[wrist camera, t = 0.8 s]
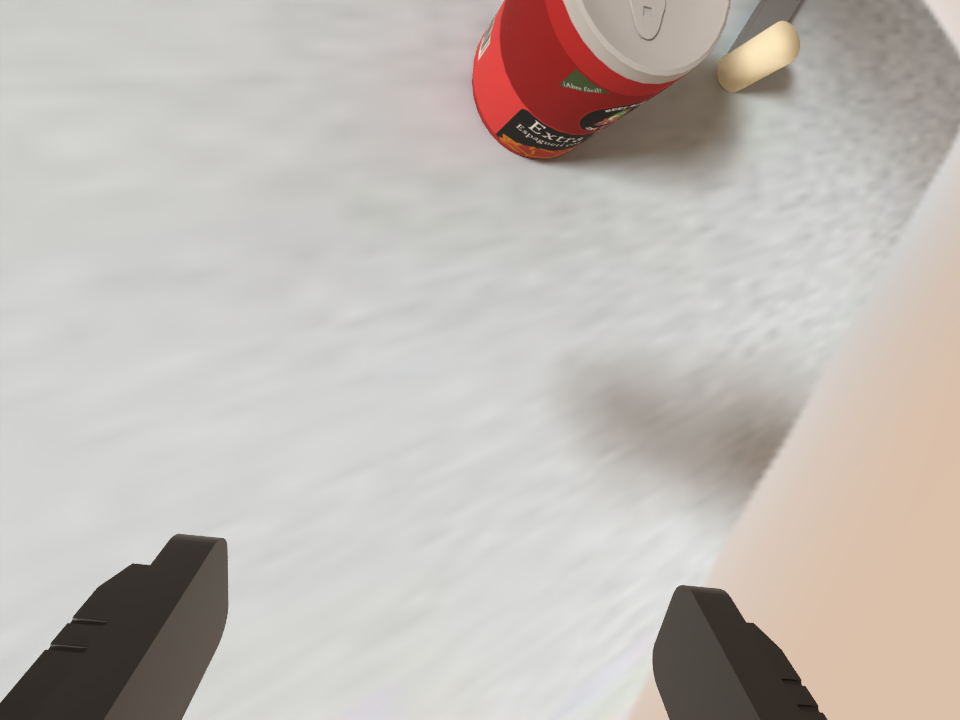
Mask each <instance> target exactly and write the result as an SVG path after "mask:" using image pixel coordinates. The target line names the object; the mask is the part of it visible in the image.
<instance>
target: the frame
mask: <svg viewBox="0 0 960 720" xmlns="http://www.w3.org/2000/svg"><path fill="white" fill-rule="evenodd" d="M800 1H801V0H761V2H760V3H759V5H758V6H757V8H756V9H755V11H754V13H753V14H752V16H751V17H750V19H749V20H748V22H747V24H746V25H745V27H744V28H743V30H742V32H741V33H740V35H739V36H738V38H737V39H736V41H735V43H734V44H733V46H732V47H731V49H730V50H729V52H728V54H727V55H725V56H724V57H722V58H721V60H720V61H719V63H718V66H717V77H718V81H719V83H720V85H721V86H722V87H723V88H724V89H725V90H726V91H728V92H731V93H735V92H738V91H740V90H741V89H743V88H745V87H747V86H749V85H751V84H752V83H754V82H756V81H758V80H760V79H762V78H764V77H765V76H767V75H769V74H771V73H773V72H775V71H776V70H778V69H780V68H782V67H784V66H786V65H788V64H789V63H791V62H793V61H794V60H795V59H796V58H797V56H798V53H799V49H800V41H799V36H798V34H797V31H796V30H795V28H794V27H793V26H792V25H791V24H790V23H788V21H789V19H790V17H791V16H792V14H793V12H794V11H795V9H796V8H797V6H798V4H799V3H800Z"/></svg>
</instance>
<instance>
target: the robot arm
mask: <svg viewBox="0 0 960 720" xmlns="http://www.w3.org/2000/svg"><path fill="white" fill-rule="evenodd" d="M227 613H228V555H227V542H226V540H225V539H224V538H215V537H205V536H195V535H185V534H176V535H175V536H173V537H172V538H171V539H170V540H169V541H168V543H167V544H166V545H165V547H164V548H163V549H162V551H161V552H160V553H159V555H158V556H157V557H156V559H155V560H154V561H153V562H152V564H151V565H142V564H131V565H130V566H128V567H127V568H125V569H124V570H122V571H121V572H120V573H118V574H117V575H115V576H114V577H112V578H111V579H109V580H108V581H106V582H105V583H103V584H102V585H101V586H99V587H98V588H97V589H96V590H95V591H94V593H93V594H92V595H91V596H90V597H89V599H88V600H87V601H86V602H85V603H84V604H83V606H82V607H81V608H80V609H79V610H78V612H77V613H76V614H75V615H74V616H73V619H72V622H71V623H67V625H66V626H65V627H64V628H63V629H62V631H61V632H60V633H59V634H58V635H57V636H56V638H55V639H54V640H53V641H52V642H51V646H50V648H49V649H48V650H45V651H44V652H43V653H42V654H41V655H40V657H39V658H38V659H37V660H36V661H35V663H34V664H33V665H32V666H31V667H30V668H29V670H28V671H27V672H26V673H25V674H24V676H23V677H22V678H21V679H20V680H19V681H18V683H17V684H16V685H15V686H14V687H13V689H12V690H11V691H10V692H9V693H8V695H7V696H6V697H5V698H4V699H3V700H2V702H1V703H0V720H182V718H183V716H184V714H185V712H186V710H187V708H188V706H189V704H190V702H191V700H192V698H193V696H194V694H195V692H196V690H197V688H198V686H199V684H200V682H201V679H202V677H203V675H204V673H205V671H206V669H207V667H208V665H209V663H210V661H211V659H212V657H213V655H214V653H215V651H216V649H217V647H218V645H219V642H220V640H221V637H222V634H223V631H224V628H225V624H226V619H227ZM653 672H654V677H655V681H656V684H657V687H658V690H659V693H660V695H661V698H662V700H663V703H664V706H665V708H666V711H667V714H668V717H669V719H670V720H827V718H826V717H825V715H824V714H823V713H820V712H819V710H818V705H817V703H816V702H815V700H814V699H813V697H812V696H811V694H810V692H809V691H808V689H807V688H806V686H802V684H801V679H800V677H799V676H798V674H797V673H796V671H795V670H794V668H793V667H792V665H791V664H790V662H789V661H788V659H787V657H786V656H785V654H784V653H783V651H782V650H781V649H780V648H779V647H778V646H777V645H776V644H775V643H774V642H773V641H772V640H771V639H770V638H769V637H768V636H767V635H766V634H764V633H763V632H762V631H761V630H760V629H759V628H758V627H757V626H756V625H755V624H754V623H746V621H745V620H744V618H743V617H742V615H741V614H740V612H739V610H738V609H737V607H736V605H735V604H734V602H733V601H732V599H731V597H730V596H729V595H728V594H727V593H726V592H725V591H724V590H721V589H716V588H705V587H695V586H685V585H681V586H678V587H677V588H676V590H675V591H674V594H673V596H672V599H671V601H670V604H669V607H668V610H667V612H666V615H665V618H664V620H663V623H662V626H661V628H660V631H659V634H658V636H657V639H656V642H655V645H654V649H653Z"/></svg>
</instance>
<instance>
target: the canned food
mask: <svg viewBox="0 0 960 720" xmlns="http://www.w3.org/2000/svg"><path fill="white" fill-rule="evenodd" d="M729 9H730V0H505V1H504V2H503V4H502V6H501V7H500V9H499V10H498V12H497V14H496V15H495V17H494V18H493V20H492V22H491V23H490V25H489V27H488V28H487V30H486V31H485V33H484V35H483V37H482V39H481V41H480V43H479V45H478V47H477V51H476V55H475V59H474V66H473V79H472V85H473V95H474V100H475V103H476V107H477V110H478V113H479V115H480V117H481V119H482V121H483V123H484V125H485V126H486V128H487V129H488V131H489V132H490V134H491V135H492V136H493V137H494V138H495V139H496V140H497V141H498V142H499V143H500V144H501V145H502V146H504V147H505V148H507V149H508V150H509V151H511V152H513V153H516V154H518V155H520V156H523V157H528V158H553V157H556V156H560V155H563V154H564V153H566V152H568V151H570V150H572V149H573V148H575V147H577V146H578V145H580V144H581V143H583V142H584V141H586V140H587V139H589V138H590V137H592V136H593V135H595V134H597V133H598V132H600V131H601V130H603V129H604V128H606V127H607V126H609V125H610V124H612V123H614V122H615V121H617V120H618V119H620V118H621V117H623V116H624V115H626V114H627V113H629V112H631V111H632V110H634V109H635V108H637V107H638V106H640V105H641V104H643V103H644V102H646V101H647V100H649V99H651V98H652V97H654V96H655V95H657V94H658V93H660V92H661V91H663V90H664V89H666V88H668V87H669V86H670V85H672V84H673V83H674V82H676V81H677V80H679V79H680V78H682V77H683V76H685V75H686V74H688V73H689V72H690V71H691V70H692V69H693V68H694V67H696V66H697V65H698V64H699V63H700V62H701V61H703V60H704V59H705V58H706V57H707V56H708V55H709V54H710V52H711V51H712V50H713V48H714V47H715V45H716V44H717V42H718V41H719V39H720V36H721V34H722V32H723V30H724V27H725V25H726V21H727V17H728V13H729Z"/></svg>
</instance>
